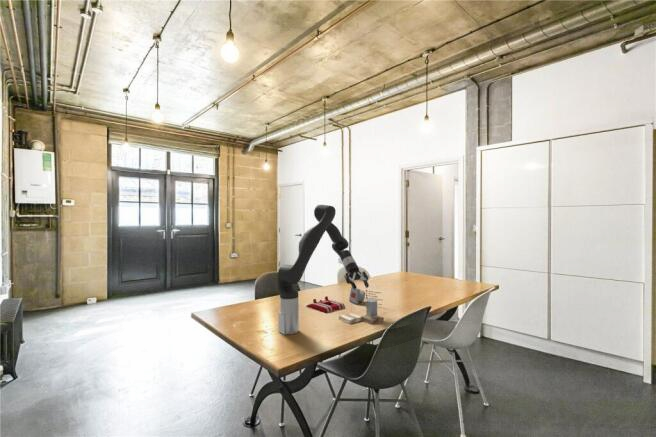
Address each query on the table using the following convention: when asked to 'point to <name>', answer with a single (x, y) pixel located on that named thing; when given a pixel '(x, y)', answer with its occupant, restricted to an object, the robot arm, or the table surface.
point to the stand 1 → (350, 318)
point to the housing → (371, 308)
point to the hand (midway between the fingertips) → (361, 287)
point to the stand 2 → (372, 321)
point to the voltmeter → (359, 295)
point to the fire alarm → (326, 305)
